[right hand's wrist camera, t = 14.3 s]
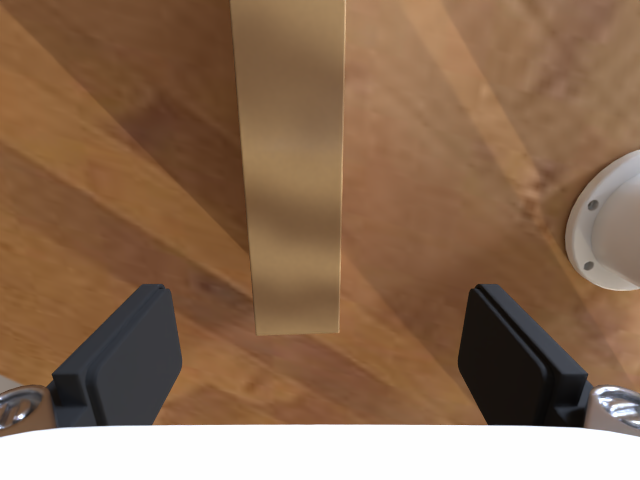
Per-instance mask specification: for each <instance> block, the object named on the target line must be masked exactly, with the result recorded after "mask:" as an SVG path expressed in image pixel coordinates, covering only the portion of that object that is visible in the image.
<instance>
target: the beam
mask: <svg viewBox="0 0 640 480" xmlns="http://www.w3.org/2000/svg"><path fill="white" fill-rule="evenodd" d="M229 3H230V16H231V29H232V41H233V54H234V66H235V79H236V92H237V104H238V117H239V129H240V142H241V154H242V167H243V180H244V192H245V205H246V217H247V230H248V243H249V255H250V268H251V280H252V293H253V305H254V318H255V331H256V336H264V335H294V334H323V333H339V322H340V273H341V224H342V175H343V126H344V77H345V28H346V0H229Z"/></svg>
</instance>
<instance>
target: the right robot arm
mask: <svg viewBox="0 0 640 480" xmlns="http://www.w3.org/2000/svg"><path fill="white" fill-rule="evenodd" d="M565 245H566V251H567V255H568V258H569V261H570V262H571V264H572V266H573V267H574V269H575V270H576V271H577V272H578V273H579V274H580V275H581V276H582V277H583V278H585V279H587V280H588V281H590V282H591V283H593V284H595V285H597V286H600V287H602V288H605V289H610V290H615V291H629V290H636V289H640V149H639V150H636V151H633V152H631V153H628V154H626V155H624V156H623V157H621V158H619V159H617V160H615V161H614V162H612V163H611V164H610V165H608V166H607V167H606V168H604V169H603V170H602V171H600V172H599V173H598V174H597V175H596V176H595V177H594V178H593V179H592V180H591V181H590V182H589V183H588V185H587V186H586V187H585V189H584V190H583V191H582V193H581V194H580V195H579V197H578V199H577V201H576V203H575V204H574V206H573V208H572V210H571V213H570V216H569V219H568V222H567V227H566V234H565ZM181 367H182V356H181V350H180V344H179V338H178V332H177V326H176V320H175V314H174V308H173V302H172V296H171V291H170V290H169V289H165V287H164V285H163V284H143V285H141V286H140V287H139V288H138V289H137V290H136V291H135V292H134V293H133V294H132V295H131V296H130V297H129V298H128V299H127V300H126V301H125V302H124V303H123V304H122V305H121V306H120V307H119V308H118V309H117V310H116V311H115V312H114V313H113V314H112V315H111V316H110V317H109V318H108V319H107V320H106V321H105V322H104V323H103V324H102V325H101V326H100V327H99V328H98V329H97V330H96V331H95V332H94V333H93V334H92V335H91V336H90V337H89V338H88V339H87V340H86V341H85V342H84V343H83V344H82V345H81V346H80V347H79V348H78V349H77V350H76V351H75V352H74V353H73V354H72V355H71V356H70V357H69V358H68V359H67V360H66V361H65V362H64V363H63V364H62V365H61V366H60V367H59V368H58V369H57V370H55V371H54V372H53V373H52V376H53V379H54V380H53V381H52V382H51V383H50V384H49V385H48V386H47V387H44V386H42V385H26V386H20V387H17V388H14V389H10V390H8V391H5V392H3V393H1V394H0V480H640V394H639V393H637V392H635V391H632V390H630V389H626V388H623V387H620V386H614V385H598V386H596V387H593V386H592V385H591V384H590V383H589V382H588V381H587V380H586V379H587V376H588V373H587V372H586V371H585V370H583V369H582V368H581V367H580V366H579V365H578V364H577V363H576V362H575V361H574V360H573V359H572V358H571V357H570V356H569V355H568V354H567V353H566V352H565V351H564V350H563V349H562V348H561V347H560V346H559V345H558V344H557V343H556V342H555V341H554V340H553V339H552V338H551V337H550V336H549V335H548V334H547V333H546V332H545V331H544V330H543V329H542V328H541V327H540V326H539V325H538V324H537V323H536V322H535V321H534V320H533V319H532V318H531V317H530V316H529V315H528V314H527V313H526V312H525V311H524V310H523V309H522V308H521V307H520V306H519V305H518V304H517V303H516V302H515V301H514V300H513V299H512V298H511V297H510V296H509V295H508V294H507V293H506V292H505V291H504V290H503V289H502V288H501V287H500V286H499V285H497V284H477V285H476V287H475V289H471V290H470V291H469V296H468V302H467V308H466V314H465V320H464V326H463V332H462V338H461V344H460V350H459V356H458V367H459V371H460V373H461V375H462V377H463V379H464V381H465V382H466V384H467V386H468V388H469V390H470V392H471V394H472V396H473V398H474V399H475V401H476V403H477V405H478V407H479V409H480V411H481V413H482V415H483V416H484V418H485V420H486V422H487V424H488V425H153V426H152V424H153V422H154V420H155V418H156V416H157V415H158V413H159V411H160V409H161V407H162V405H163V403H164V401H165V399H166V398H167V396H168V394H169V392H170V390H171V388H172V386H173V384H174V382H175V381H176V379H177V377H178V375H179V373H180V371H181Z"/></svg>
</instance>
